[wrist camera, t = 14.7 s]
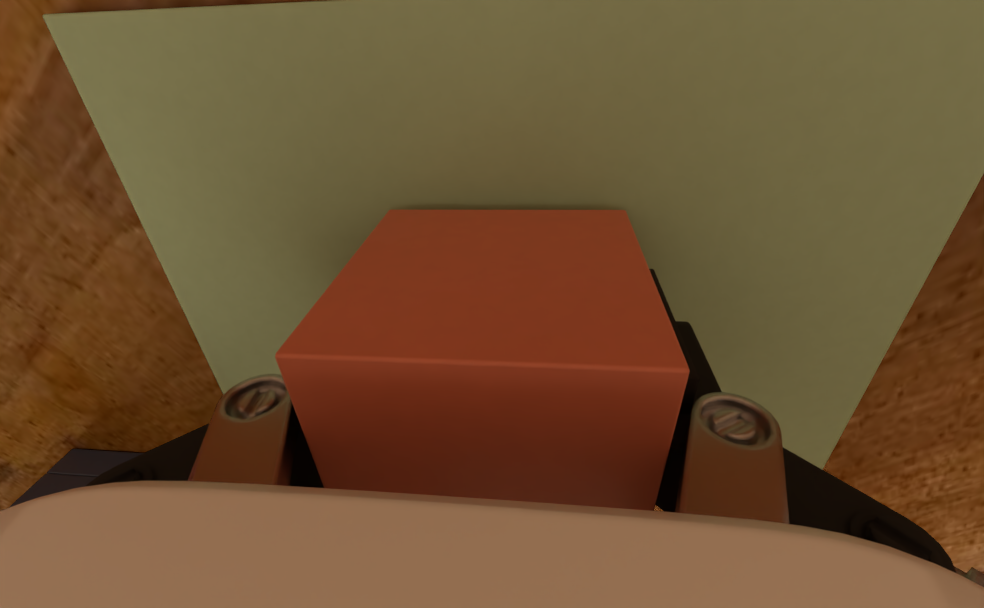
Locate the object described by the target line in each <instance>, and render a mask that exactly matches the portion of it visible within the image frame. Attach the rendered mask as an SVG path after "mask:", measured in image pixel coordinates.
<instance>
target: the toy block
mask: <svg viewBox="0 0 984 608" xmlns="http://www.w3.org/2000/svg"><path fill="white" fill-rule="evenodd" d="M275 358H276V361H277V364H278V366H279V369H280V372H281V374H282V377H283V380H284V382H285V385H286V388H287V390H288V393H289V396H290V398H291V401H292V404H293V406H294V409H295V412H296V414H297V417H298V420H299V422H300V425H301V428H302V430H303V433H304V436H305V438H306V441H307V444H308V446H309V449H310V452H311V454H312V457H313V460H314V462H315V465H316V468H317V470H318V473H319V476H320V478H321V481H322V484H323V486H324V488H330V489H346V490H362V491H378V492H393V493H408V494H423V495H438V496H453V497H468V498H482V499H497V500H511V501H526V502H540V503H554V504H567V505H581V506H595V507H609V508H622V509H636V510H650V511H654V507H655V503H656V499H657V496H658V492H659V488H660V484H661V480H662V476H663V472H664V469H665V465H666V461H667V457H668V453H669V449H670V445H671V442H672V438H673V434H674V430H675V426H676V422H677V418H678V415H679V411H680V407H681V403H682V399H683V395H684V391H685V388H686V384H687V380H688V376H689V372H690V370H689V367H688V364H687V362H686V359H685V357H684V354H683V352H682V349H681V347H680V344H679V342H678V340H677V337H676V335H675V332H674V330H673V327H672V325H671V322H670V320H669V317H668V315H667V312H666V310H665V307H664V305H663V302H662V300H661V297H660V295H659V292H658V290H657V287H656V285H655V282H654V280H653V277H652V275H651V272H650V270H649V267H648V265H647V262H646V260H645V257H644V255H643V252H642V250H641V247H640V245H639V243H638V240H637V238H636V235H635V233H634V230H633V228H632V225H631V223H630V220H629V218H628V215H627V213H626V211H625V210H389V211H388V212H387V213H386V215H385V216H384V217H383V219H382V220H381V221H380V222H379V224H378V225H377V226H376V227H375V229H374V230H373V231H372V232H371V234H370V235H369V236H368V237H367V239H366V240H365V241H364V243H363V244H362V245H361V246H360V248H359V249H358V250H357V251H356V253H355V254H354V255H353V256H352V258H351V259H350V260H349V261H348V263H347V264H346V265H345V266H344V268H343V269H342V270H341V272H340V273H339V274H338V275H337V277H336V278H335V279H334V280H333V282H332V283H331V284H330V285H329V287H328V288H327V289H326V290H325V292H324V293H323V294H322V296H321V297H320V298H319V299H318V301H317V302H316V303H315V304H314V306H313V307H312V308H311V309H310V311H309V312H308V313H307V314H306V316H305V317H304V318H303V320H302V321H301V322H300V323H299V325H298V326H297V327H296V328H295V330H294V331H293V332H292V333H291V335H290V336H289V337H288V338H287V340H286V341H285V342H284V344H283V345H282V346H281V347H280V349H279V350H278V351H277V352H276V355H275Z"/></svg>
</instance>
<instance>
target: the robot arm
mask: <svg viewBox="0 0 984 608" xmlns="http://www.w3.org/2000/svg"><path fill="white" fill-rule="evenodd" d="M649 270H650V272H651V275H652V277H653V280H654V282H655V285H656V287H657V290H658V292H659V295H660V297H661V300H662V302H663V305H664V307H665V310H666V312H667V315H668V317H669V320H670V322H671V325H672V327H673V330H674V332H675V335H676V337H677V340H678V342H679V344H680V347H681V349H682V352H683V354H684V357H685V359H686V362H687V364H688V367H689V370H690V372H689V376H688V380H687V384H686V388H685V391H684V395H683V399H682V403H681V407H680V411H679V415H678V418H677V422H676V426H675V430H674V434H673V438H672V442H671V445H670V449H669V453H668V457H667V461H666V465H665V469H664V472H663V476H662V480H661V484H660V488H659V492H658V496H657V499H656V503H655V504H656V505H657V506H658V507H659V508H661V509H662V510H663V511H664V512H663V511H650V510H636V509H622V508H609V507H595V506H581V505H567V504H554V503H540V502H526V501H511V500H497V499H482V498H468V497H453V496H438V495H423V494H408V493H393V492H378V491H362V490H346V489H330V488H324V486H323V484H322V481H321V478H320V476H319V473H318V470H317V468H316V465H315V462H314V460H313V457H312V454H311V452H310V449H309V446H308V444H307V441H306V438H305V436H304V433H303V430H302V428H301V425H300V422H299V420H298V417H297V414H296V412H295V409H294V406H293V404H292V401H291V398H290V396H289V393H288V390H287V388H286V385H285V382H284V380H283V377H282V375H279V374H262V375H258V376H254V377H251V378H248V379H246V380H244V381H242V382H239V383H238V384H236V385H235V386H233V387H232V388H230V389H229V390H228V391H227V392H226V393H225V394H224V395H223V396H222V397H221V398H220V400H219V402H218V403H217V405H216V408H215V410H214V413H213V416H212V418H211V421H210V423H209V424H207V425H205V426H202V427H200V428H198V429H196V430H194V431H191V432H189V433H187V434H185V435H183V436H181V437H178V438H176V439H174V440H172V441H170V442H167V443H165V444H163V445H161V446H159V447H156V448H154V449H152V450H150V451H148V452H146V453H143V454H141V455H139V456H137V457H135V458H132V459H130V460H128V461H126V462H124V463H121V464H119V465H117V466H115V467H113V468H111V469H109V470H108V471H106V472H104V473H102V474H100V475H99V476H98V477H96V478H95V479H94V480H92V481H91V482H90V483H88V484H87V485H86V486H85V487H79V488H74V489H70V490H66V491H62V492H58V493H54V494H50V495H46V496H42V497H38V498H35V499H32V500H29V501H26V502H23V503H20V504H17V505H15V506H12V507H10V508H7V509H5V510H2V511H0V608H984V574H983V573H982V572H980V571H978V570H976V569H974V568H973V567H972V568H971V569H970V570H969V571H968V572H967V573H965V572H963V571H961V570H960V569H958V568H956V567H954V566H953V563H952V561H951V559H950V557H949V556H948V555H947V553H946V552H945V551H944V549H943V548H942V547H941V545H940V544H939V543H938V542H937V541H936V540H935V539H934V538H933V537H931V536H930V535H929V534H928V533H927V532H926V531H925V530H924V529H922V528H921V527H919V526H918V525H916V524H915V523H913V522H912V521H910V520H909V519H907V518H906V517H904V516H902V515H900V514H899V513H897V512H895V511H893V510H892V509H890V508H888V507H886V506H885V505H883V504H881V503H879V502H878V501H876V500H874V499H872V498H871V497H869V496H867V495H866V494H864V493H862V492H860V491H859V490H857V489H855V488H853V487H852V486H850V485H848V484H846V483H845V482H843V481H841V480H839V479H838V478H836V477H834V476H832V475H831V474H829V473H827V472H825V471H824V470H822V469H820V468H818V467H817V466H815V465H813V464H811V463H810V462H808V461H806V460H804V459H803V458H801V457H799V456H797V455H796V454H794V453H792V452H790V451H789V450H787V449H785V448H784V447H783V445H782V434H781V430H780V427H779V423H778V422H777V420H776V419H775V418H774V416H773V415H772V414H771V413H770V412H769V411H768V410H767V409H765V408H764V407H763V406H762V405H760V404H758V403H756V402H755V401H753V400H751V399H749V398H746V397H743V396H740V395H737V394H733V393H726V392H722V391H721V389H720V387H719V385H718V382H717V380H716V378H715V376H714V374H713V372H712V369H711V367H710V365H709V363H708V361H707V359H706V356H705V354H704V352H703V350H702V348H701V346H700V343H699V341H698V339H697V337H696V335H695V333H694V330H693V328H692V326H691V325H690V323H689V322H686V321H675V319H674V316H673V314H672V312H671V309H670V307H669V304H668V302H667V300H666V297H665V295H664V292H663V290H662V288H661V285H660V283H659V280H658V278H657V276H656V273H655V271H654V269H649Z"/></svg>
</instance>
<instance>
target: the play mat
mask: <svg viewBox="0 0 984 608" xmlns="http://www.w3.org/2000/svg"><path fill="white" fill-rule="evenodd" d="M43 18H44V20H45V22H46V25H47V27H48V29H49V31H50V33H51V35H52V37H53V39H54V41H55V43H56V45H57V48H58V50H59V52H60V54H61V56H62V58H63V60H64V62H65V64H66V66H67V68H68V71H69V73H70V75H71V77H72V79H73V81H74V83H75V85H76V87H77V89H78V92H79V94H80V96H81V98H82V100H83V102H84V104H85V106H86V108H87V110H88V112H89V115H90V117H91V119H92V121H93V123H94V125H95V127H96V129H97V131H98V133H99V135H100V138H101V140H102V142H103V144H104V146H105V148H106V150H107V152H108V154H109V156H110V158H111V161H112V163H113V165H114V167H115V169H116V171H117V173H118V175H119V177H120V179H121V181H122V184H123V186H124V188H125V190H126V192H127V194H128V196H129V198H130V200H131V202H132V204H133V207H134V209H135V211H136V213H137V215H138V217H139V219H140V221H141V223H142V225H143V228H144V230H145V232H146V234H147V236H148V238H149V240H150V242H151V244H152V246H153V248H154V251H155V253H156V255H157V257H158V259H159V261H160V263H161V265H162V267H163V269H164V271H165V274H166V276H167V278H168V280H169V282H170V284H171V286H172V288H173V290H174V292H175V294H176V297H177V299H178V301H179V303H180V305H181V307H182V309H183V311H184V313H185V315H186V317H187V320H188V322H189V324H190V326H191V328H192V330H193V332H194V334H195V336H196V338H197V340H198V343H199V345H200V347H201V349H202V351H203V353H204V355H205V357H206V359H207V361H208V364H209V366H210V368H211V370H212V372H213V374H214V376H215V378H216V380H217V382H218V384H219V387H220V389H221V391H222V393H223V395H224V394H225V393H226V392H227V391H228V390H229V389H230V388H232V387H233V386H235V385H236V384H238V383H239V382H242V381H244V380H246V379H248V378H251V377H254V376H258V375H262V374H279V375H282V374H281V372H280V369H279V366H278V364H277V361H276V358H275V355H276V352H277V351H278V350H279V349H280V347H281V346H282V345H283V344H284V342H285V341H286V340H287V338H288V337H289V336H290V335H291V333H292V332H293V331H294V330H295V328H296V327H297V326H298V325H299V323H300V322H301V321H302V320H303V318H304V317H305V316H306V314H307V313H308V312H309V311H310V309H311V308H312V307H313V306H314V304H315V303H316V302H317V301H318V299H319V298H320V297H321V296H322V294H323V293H324V292H325V290H326V289H327V288H328V287H329V285H330V284H331V283H332V282H333V280H334V279H335V278H336V277H337V275H338V274H339V273H340V272H341V270H342V269H343V268H344V266H345V265H346V264H347V263H348V261H349V260H350V259H351V258H352V256H353V255H354V254H355V253H356V251H357V250H358V249H359V248H360V246H361V245H362V244H363V243H364V241H365V240H366V239H367V237H368V236H369V235H370V234H371V232H372V231H373V230H374V229H375V227H376V226H377V225H378V224H379V222H380V221H381V220H382V219H383V217H384V216H385V215H386V213H387V212H388V211H389V210H625V211H626V213H627V215H628V218H629V220H630V223H631V225H632V228H633V230H634V233H635V235H636V238H637V240H638V243H639V245H640V247H641V250H642V252H643V255H644V257H645V260H646V262H647V265H648V267H649V269H654V271H655V273H656V276H657V278H658V280H659V283H660V285H661V288H662V290H663V292H664V295H665V297H666V300H667V302H668V304H669V307H670V309H671V312H672V314H673V316H674V319H675V321H686V322H689V323H690V325H691V326H692V328H693V330H694V333H695V335H696V337H697V339H698V341H699V343H700V346H701V348H702V350H703V352H704V354H705V356H706V359H707V361H708V363H709V365H710V367H711V369H712V372H713V374H714V376H715V378H716V380H717V382H718V385H719V387H720V389H721V391H722V392H726V393H733V394H737V395H740V396H743V397H746V398H749V399H751V400H753V401H755V402H756V403H758V404H760V405H762V406H763V407H764V408H765V409H767V410H768V411H769V412H770V413H771V414H772V415H773V416H774V418H775V419H776V420H777V422H778V423H779V427H780V430H781V434H782V445H783V447H784V448H785V449H787V450H789V451H790V452H792V453H794V454H796V455H797V456H799V457H801V458H803V459H804V460H806V461H808V462H810V463H811V464H813V465H815V466H817V467H818V468H820V469H823V468H824V466H825V464H826V462H827V460H828V458H829V457H830V455H831V453H832V451H833V449H834V447H835V446H836V444H837V442H838V440H839V438H840V436H841V435H842V433H843V431H844V429H845V427H846V425H847V424H848V422H849V420H850V418H851V416H852V414H853V412H854V411H855V409H856V407H857V405H858V403H859V401H860V400H861V398H862V396H863V394H864V392H865V390H866V389H867V387H868V385H869V383H870V381H871V379H872V378H873V376H874V374H875V372H876V370H877V368H878V367H879V365H880V363H881V361H882V359H883V357H884V356H885V354H886V352H887V350H888V348H889V346H890V345H891V343H892V341H893V339H894V337H895V335H896V334H897V332H898V330H899V328H900V326H901V324H902V323H903V321H904V319H905V317H906V315H907V313H908V311H909V310H910V308H911V306H912V304H913V302H914V300H915V299H916V297H917V295H918V293H919V291H920V289H921V288H922V286H923V284H924V282H925V280H926V278H927V277H928V275H929V273H930V271H931V269H932V267H933V266H934V264H935V262H936V260H937V258H938V256H939V255H940V253H941V251H942V249H943V247H944V245H945V244H946V242H947V240H948V238H949V236H950V234H951V233H952V231H953V229H954V227H955V225H956V223H957V221H958V220H959V218H960V216H961V214H962V212H963V210H964V209H965V207H966V205H967V203H968V201H969V199H970V198H971V196H972V194H973V192H974V190H975V188H976V187H977V185H978V183H979V181H980V179H981V177H982V176H983V174H984V0H328V1H307V2H286V3H266V4H245V5H224V6H203V7H182V8H162V9H141V10H120V11H99V12H78V13H58V14H44V15H43Z"/></svg>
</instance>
